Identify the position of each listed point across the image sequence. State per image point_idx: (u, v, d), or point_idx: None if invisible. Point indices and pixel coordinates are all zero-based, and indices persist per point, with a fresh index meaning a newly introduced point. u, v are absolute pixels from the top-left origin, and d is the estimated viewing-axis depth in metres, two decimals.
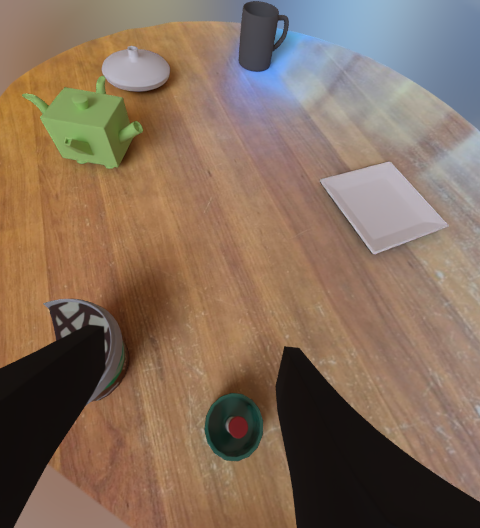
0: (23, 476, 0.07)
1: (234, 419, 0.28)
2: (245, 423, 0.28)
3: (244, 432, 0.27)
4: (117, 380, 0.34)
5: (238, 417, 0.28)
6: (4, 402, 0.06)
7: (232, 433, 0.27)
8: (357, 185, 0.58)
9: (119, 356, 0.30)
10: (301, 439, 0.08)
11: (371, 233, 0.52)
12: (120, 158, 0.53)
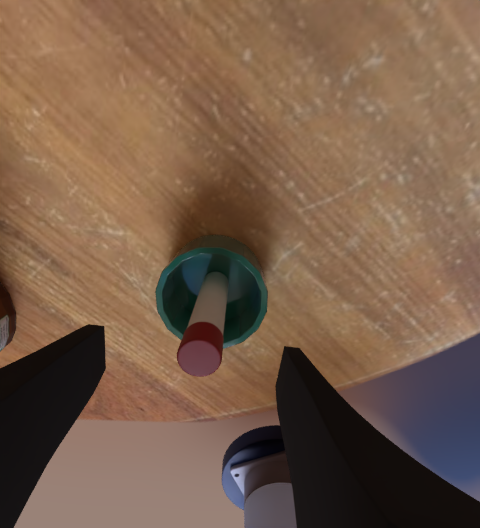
0: (23, 476, 0.07)
1: (182, 350, 0.12)
2: (209, 346, 0.11)
3: (215, 362, 0.12)
4: None
5: (188, 343, 0.11)
6: (3, 402, 0.06)
7: (192, 373, 0.12)
8: None
9: None
10: (301, 439, 0.08)
11: None
12: None
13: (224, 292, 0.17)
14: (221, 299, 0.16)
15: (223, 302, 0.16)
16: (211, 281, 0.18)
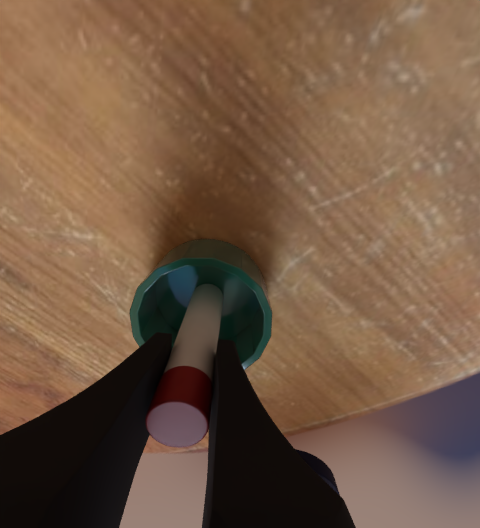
0: (124, 484, 0.07)
1: (152, 414, 0.08)
2: (191, 409, 0.08)
3: (199, 429, 0.08)
4: None
5: (160, 405, 0.08)
6: (121, 414, 0.06)
7: (168, 443, 0.08)
8: None
9: None
10: (212, 431, 0.08)
11: None
12: None
13: (217, 313, 0.13)
14: (213, 323, 0.12)
15: (215, 328, 0.12)
16: (200, 298, 0.14)
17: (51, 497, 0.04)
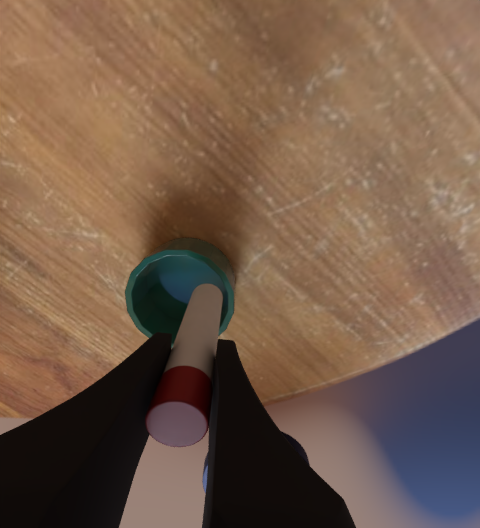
0: (124, 485, 0.07)
1: (151, 414, 0.08)
2: (191, 409, 0.08)
3: (199, 429, 0.08)
4: None
5: (160, 405, 0.08)
6: (121, 414, 0.06)
7: (168, 443, 0.08)
8: None
9: None
10: (212, 430, 0.08)
11: None
12: None
13: (216, 313, 0.13)
14: (212, 323, 0.12)
15: (214, 328, 0.12)
16: (200, 298, 0.14)
17: (51, 497, 0.04)
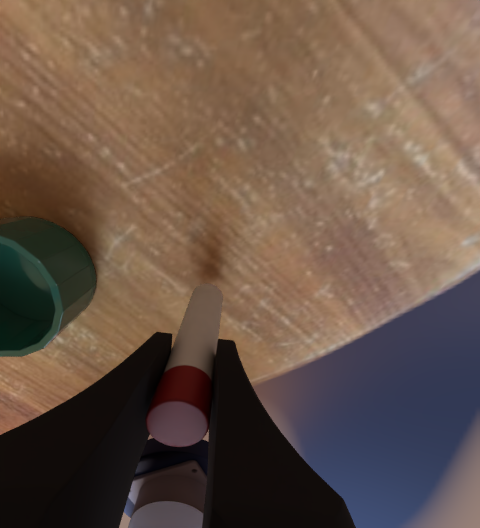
0: (124, 485, 0.07)
1: (152, 414, 0.08)
2: (191, 409, 0.08)
3: (200, 429, 0.08)
4: None
5: (161, 405, 0.08)
6: (121, 414, 0.06)
7: (168, 443, 0.08)
8: None
9: None
10: (212, 431, 0.08)
11: None
12: None
13: (217, 312, 0.13)
14: (213, 323, 0.12)
15: (215, 328, 0.12)
16: (200, 298, 0.14)
17: (51, 497, 0.04)
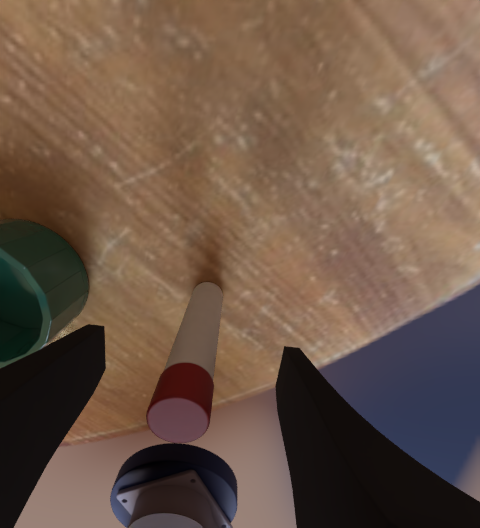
0: (23, 476, 0.07)
1: (153, 410, 0.08)
2: (192, 405, 0.08)
3: (200, 425, 0.08)
4: None
5: (161, 401, 0.08)
6: (4, 402, 0.06)
7: (169, 439, 0.08)
8: None
9: None
10: (301, 439, 0.08)
11: None
12: None
13: (217, 311, 0.14)
14: (213, 321, 0.12)
15: (215, 326, 0.12)
16: (200, 296, 0.14)
17: None
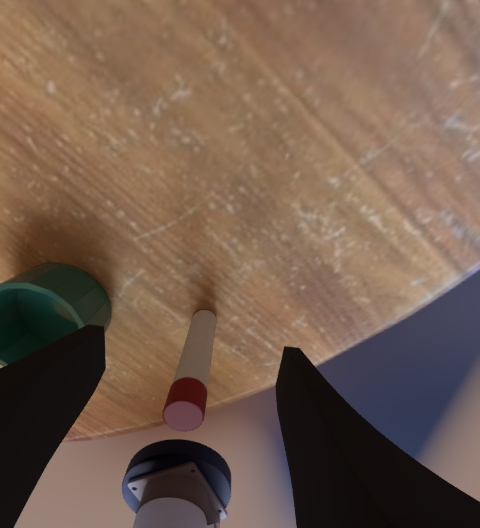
0: (23, 476, 0.07)
1: (167, 409, 0.12)
2: (192, 406, 0.12)
3: (198, 419, 0.13)
4: None
5: (173, 403, 0.12)
6: (4, 402, 0.06)
7: (177, 429, 0.13)
8: None
9: None
10: (301, 439, 0.08)
11: None
12: None
13: (211, 335, 0.18)
14: (208, 344, 0.17)
15: (209, 348, 0.17)
16: (198, 323, 0.18)
17: None
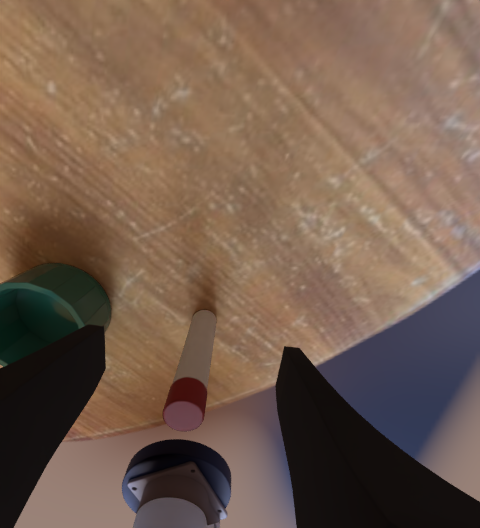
0: (23, 476, 0.07)
1: (167, 409, 0.12)
2: (192, 406, 0.12)
3: (198, 419, 0.13)
4: None
5: (173, 403, 0.12)
6: (4, 402, 0.06)
7: (177, 429, 0.13)
8: None
9: None
10: (301, 439, 0.08)
11: None
12: None
13: (211, 335, 0.18)
14: (208, 344, 0.17)
15: (209, 348, 0.17)
16: (198, 323, 0.18)
17: None
